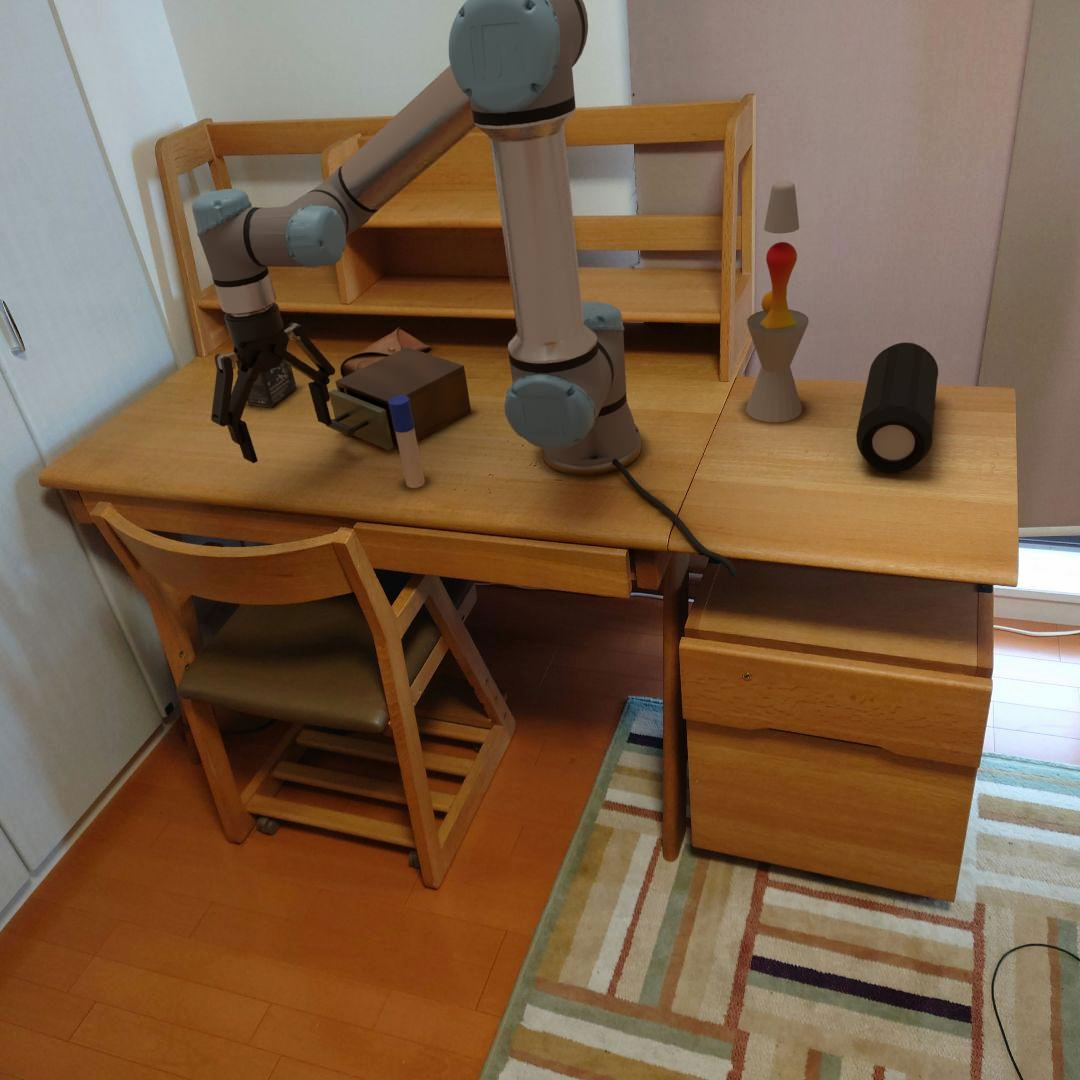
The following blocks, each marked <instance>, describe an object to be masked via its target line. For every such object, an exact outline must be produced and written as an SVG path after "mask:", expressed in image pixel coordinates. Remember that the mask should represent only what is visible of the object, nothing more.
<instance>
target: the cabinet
mask: <svg viewBox="0 0 1080 1080" xmlns="http://www.w3.org/2000/svg"><path fill="white" fill-rule="evenodd" d="M334 382H335V385H336V390H337V391H340V392H342V393H345V392H344V389H347V390H349V391H352V392H355V393H357V394H360V395H362V396H365V397H367V398H370V399H373V400H375V401H378V402H380V403H383V404H385V405H388V406H389V403H388V401H389V400H390V399H391V398H392V397H395V396H400V395H404V396H407V397H409V400H410V405H411V410H412V415H413V420H414V429H415V434H416V439H417V443H419V442H420V441H422V440H424V439H426V438H427V437H429V436H431V435H433V434H434V433H436V432H438V431H441V430H442V429H444V428H445V427H447V426H449V425H451V424H452V423H454V422H457V421H458V420H460V419H462V418H463V417H466V416H468V414H471V413H472V407H471V402H470V396H469V395H470V394H469V388H468V383H467V376H466V370H465V365H463V364H460V363H457V362H454V361H451V360H448V359H445V358H441V357H438V356H435V355H433V354H429V353H427V352H421V351H417V350H414V349H411V348H408V347H406V348H404V349H402V350H400V351H398V352H395V353H393V354H391V355H389V356H387V357H385V358H383V359H381V360H379V361H377V362H375V363H372V364H370V365H368V366H366V367H364V368H362V369H360V370H358V371H356V372H354V373H351V374H349V375H347V376H345V377H341V378H339V379H337V380H335V381H334ZM395 435H396V433H395ZM396 440H397V437H396ZM396 440H393V439H392V442H393V449H395V450H398V451H399V447H398V442H397V441H396Z"/></svg>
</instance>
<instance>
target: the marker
mask: <svg viewBox="0 0 1080 1080" xmlns="http://www.w3.org/2000/svg"><path fill="white" fill-rule="evenodd" d="M388 403H389V408H390V412H391V417H392V422H393V427H394V430H395V433H396V437H397V442H398V447H399V450H398V451H399V452H398V453H399V456H400V460H401V465H402V470H403V471H402V472H403V475H404V480H405V484H406V486H407V488H410V489H418V488H420V487H422V486H424V485H425V483H426V480H425V475H424V469H423V466H422V461H421V456H420V455H421V454H420V450H419V445H418V442H417V439H416V434H415V429H414V420H413V415H412V410H411V405H410V400H409V397H407V396H404V395H400V396H395V397H392V398H391V399H390V400H389V401H388Z"/></svg>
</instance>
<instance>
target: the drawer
mask: <svg viewBox="0 0 1080 1080" xmlns="http://www.w3.org/2000/svg"><path fill="white" fill-rule="evenodd" d="M328 392H329V396H330V404H331V408H332V411H333V415H334V416H333V417H334V418H331V421H332V424H330V425H326V424H325V426H326V428H329V429H332V430H334V431H337V432H339V433H341V434H343V435H346V436H347V437H353V436H354V437H356V438H359V439H361V440H364V441H365V442H368V443H370V444H372V445H375V446H377V447H380V448H381V449H384V450H387V451H390V450H391V449H394V447H393V442H392V439H393V440H396V435H395V430H394V427H393V422H392V417H391V412H390V408H389V406H388V405H385V404H383V403H380V402H378V401H375V400H373V399H370V398H367V397H365V396H362V395H360V394H357V393H355V392H352V391H349V390H347V389H344V392H345V393H342V392H340V391H338V390H337V389H332V390H330V391H328ZM396 441H397V440H396Z"/></svg>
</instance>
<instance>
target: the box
mask: <svg viewBox="0 0 1080 1080" xmlns="http://www.w3.org/2000/svg"><path fill="white" fill-rule="evenodd" d="M286 351H288V349H287V348H286ZM235 364H236V368H237V369H238V368H239V365H240V362H239V361H236V363H235ZM280 365H281V366H279V367H277V368H272V369H270V370H269V371H268V372H266V373H264V374H262V373H259V375H258V378H257V380H256V381H255V382H254V383H253V386H252V389H251V392H250V394H249V397H248V400H247V403H248V405H250V406H251V405H252V406H257V407H264V408H270V409H271V408H273V407H275V406H276V404H278V403H280V402H281V401H282V400H283V399H285V398H286V397H287V396H289V395H290V394H292V393H293V392H295V391H296V390H297V389H298V388H297V384H296V380H295V375H294V371H293V367H292V366H290V365H288V364H287V363H285V362H284V361H282V363H281V364H280ZM249 372H250V369H248V373H249Z"/></svg>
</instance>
